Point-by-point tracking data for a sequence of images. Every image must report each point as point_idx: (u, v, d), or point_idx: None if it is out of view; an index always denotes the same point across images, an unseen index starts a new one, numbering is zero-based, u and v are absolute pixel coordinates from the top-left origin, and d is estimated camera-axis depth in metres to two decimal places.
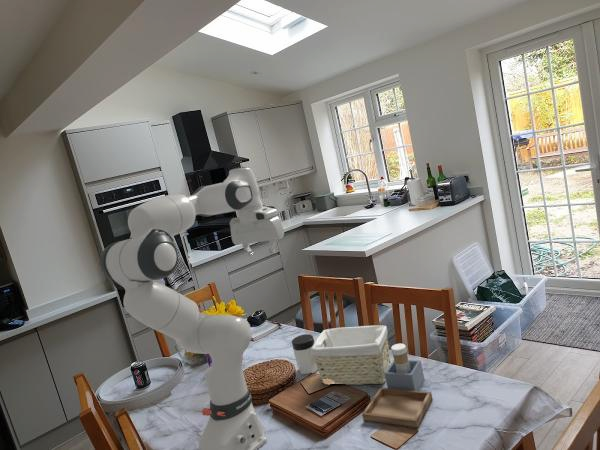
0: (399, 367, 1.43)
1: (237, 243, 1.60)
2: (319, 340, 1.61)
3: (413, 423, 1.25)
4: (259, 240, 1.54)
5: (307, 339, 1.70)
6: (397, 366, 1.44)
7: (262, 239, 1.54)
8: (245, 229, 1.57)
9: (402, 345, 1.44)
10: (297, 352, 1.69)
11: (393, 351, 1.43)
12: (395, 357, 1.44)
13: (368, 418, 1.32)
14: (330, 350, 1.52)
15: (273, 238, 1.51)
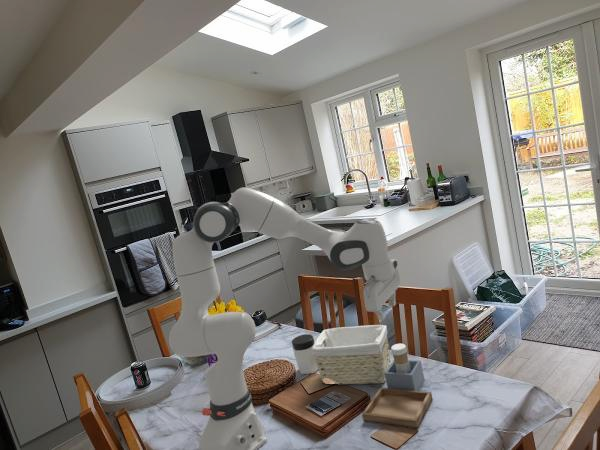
0: (399, 367, 1.43)
1: (379, 308, 1.35)
2: (319, 340, 1.61)
3: (413, 423, 1.25)
4: (391, 293, 1.43)
5: (307, 339, 1.70)
6: (397, 366, 1.44)
7: (393, 291, 1.44)
8: (382, 287, 1.39)
9: (402, 345, 1.44)
10: (297, 352, 1.69)
11: (393, 351, 1.43)
12: (395, 357, 1.44)
13: (368, 418, 1.32)
14: (331, 349, 1.52)
15: (398, 285, 1.48)
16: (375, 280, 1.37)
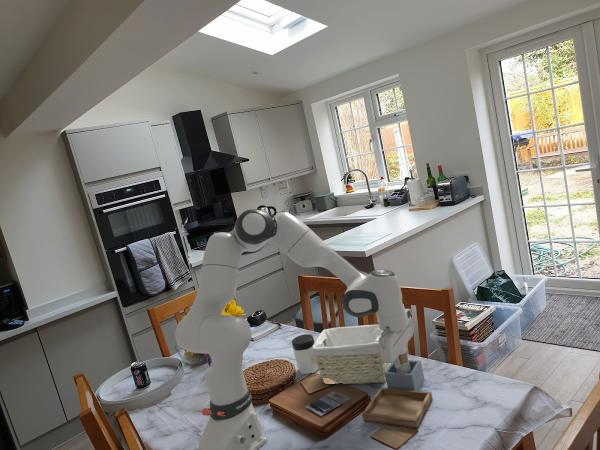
0: None
1: (394, 359, 1.37)
2: (319, 340, 1.61)
3: (413, 423, 1.25)
4: (405, 343, 1.45)
5: (307, 339, 1.70)
6: None
7: (407, 341, 1.46)
8: (396, 338, 1.40)
9: None
10: (297, 352, 1.69)
11: None
12: None
13: (368, 418, 1.32)
14: (331, 349, 1.53)
15: (411, 334, 1.50)
16: (390, 331, 1.39)
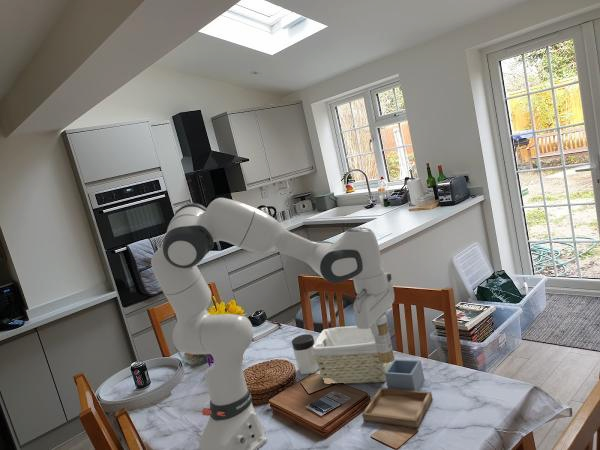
0: (378, 338, 1.30)
1: (371, 324, 1.23)
2: (319, 339, 1.62)
3: (413, 423, 1.25)
4: (385, 309, 1.31)
5: (307, 339, 1.70)
6: (376, 338, 1.30)
7: (386, 307, 1.32)
8: (374, 302, 1.26)
9: (382, 315, 1.30)
10: (297, 352, 1.69)
11: None
12: None
13: (368, 418, 1.32)
14: (332, 349, 1.53)
15: (392, 301, 1.36)
16: (367, 294, 1.25)
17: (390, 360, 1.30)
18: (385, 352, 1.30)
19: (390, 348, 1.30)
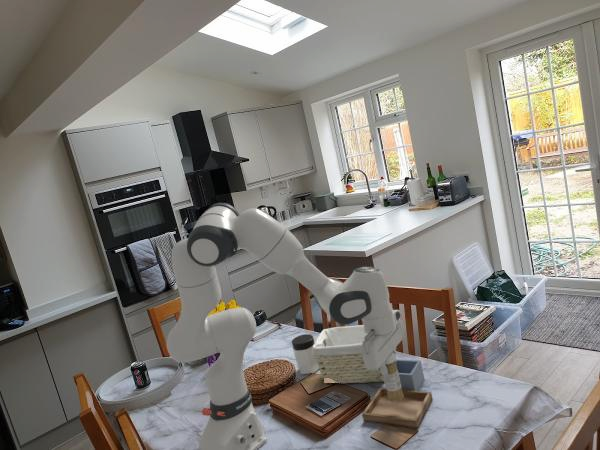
0: (387, 377, 1.30)
1: (379, 365, 1.23)
2: (319, 339, 1.62)
3: (413, 423, 1.25)
4: (393, 348, 1.31)
5: (307, 339, 1.70)
6: (385, 376, 1.30)
7: (395, 345, 1.32)
8: (382, 341, 1.27)
9: None
10: (297, 352, 1.69)
11: None
12: None
13: (368, 418, 1.32)
14: (332, 349, 1.53)
15: (401, 338, 1.36)
16: (375, 334, 1.26)
17: (399, 398, 1.31)
18: (394, 390, 1.30)
19: (399, 386, 1.31)
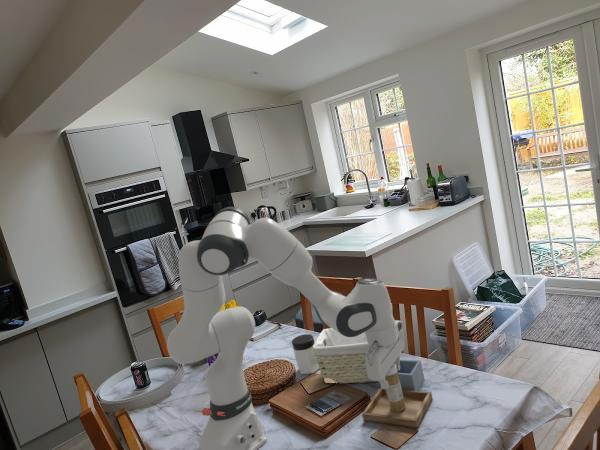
0: (390, 388, 1.32)
1: (383, 376, 1.25)
2: (320, 339, 1.62)
3: (413, 423, 1.25)
4: (395, 358, 1.33)
5: (307, 339, 1.70)
6: None
7: (397, 355, 1.34)
8: (385, 353, 1.28)
9: None
10: (297, 352, 1.69)
11: None
12: (385, 377, 1.32)
13: (368, 418, 1.32)
14: (332, 348, 1.53)
15: (402, 348, 1.38)
16: (378, 345, 1.27)
17: (401, 409, 1.32)
18: (396, 401, 1.32)
19: (401, 397, 1.32)
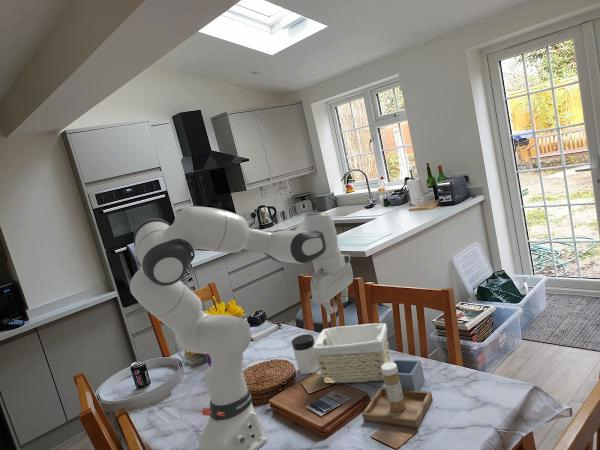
0: (390, 388, 1.32)
1: (326, 300, 1.35)
2: (320, 339, 1.62)
3: (413, 423, 1.25)
4: (342, 288, 1.43)
5: (307, 339, 1.70)
6: (387, 387, 1.32)
7: (344, 286, 1.44)
8: (331, 280, 1.38)
9: (393, 364, 1.33)
10: (297, 352, 1.69)
11: (383, 371, 1.31)
12: (385, 377, 1.32)
13: (368, 418, 1.32)
14: (332, 348, 1.53)
15: (350, 281, 1.47)
16: (324, 273, 1.37)
17: (401, 409, 1.32)
18: (396, 401, 1.32)
19: (401, 397, 1.32)
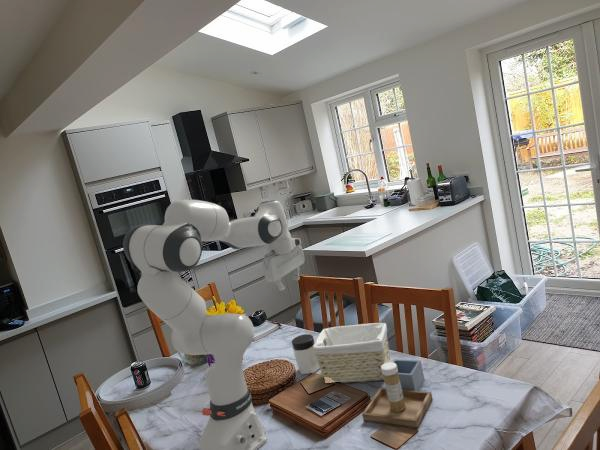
0: (390, 388, 1.32)
1: (277, 278, 1.52)
2: (320, 339, 1.62)
3: (413, 423, 1.25)
4: (293, 268, 1.60)
5: (307, 339, 1.70)
6: (387, 387, 1.32)
7: (295, 266, 1.61)
8: (282, 261, 1.56)
9: (393, 364, 1.33)
10: (297, 352, 1.69)
11: (383, 371, 1.31)
12: (385, 377, 1.32)
13: (368, 418, 1.32)
14: (333, 348, 1.53)
15: (302, 262, 1.65)
16: (275, 254, 1.54)
17: (401, 409, 1.32)
18: (396, 401, 1.32)
19: (401, 397, 1.32)
